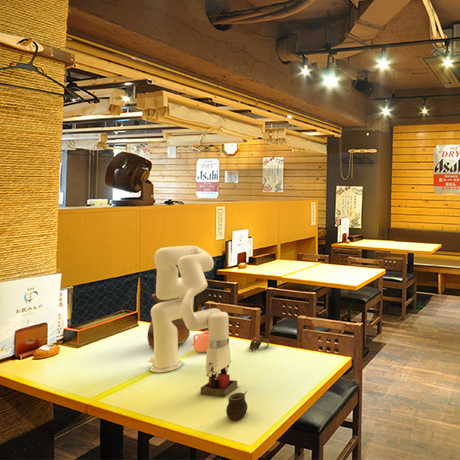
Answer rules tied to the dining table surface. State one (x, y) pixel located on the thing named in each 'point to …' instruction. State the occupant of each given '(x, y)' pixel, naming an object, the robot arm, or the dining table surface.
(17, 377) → the dining table surface
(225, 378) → the red block
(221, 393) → the brown shallow rectangular box
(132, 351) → the dining table surface
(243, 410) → the mate gourd
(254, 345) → the pottery mug
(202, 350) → the sugar bowl
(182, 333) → the ceramic pitcher
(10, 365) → the dining table surface
